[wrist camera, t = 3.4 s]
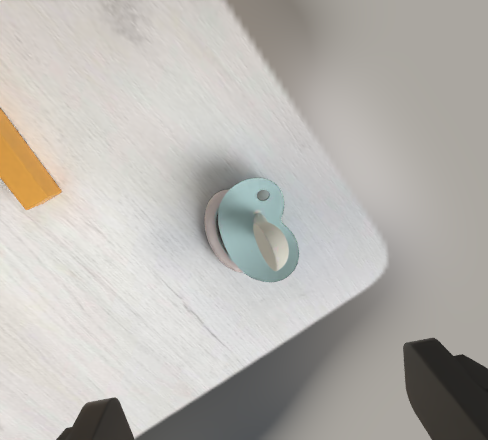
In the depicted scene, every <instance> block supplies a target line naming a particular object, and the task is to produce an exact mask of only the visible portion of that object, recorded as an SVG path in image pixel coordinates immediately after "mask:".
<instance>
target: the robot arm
mask: <svg viewBox="0 0 488 440" xmlns="http://www.w3.org/2000/svg"><path fill="white" fill-rule="evenodd" d="M403 351H404V367H405V382H406V391H407V394H408V398H409V401H410V403H411V405H412V408H413V410H414V412H415V413H416V415H417V416H418V418H419V420H420V421H421V423H422V424H423V426H424V428H425V429H426V431H427V432H428V434H429V435H430V437H431V439H432V440H488V369H487V368H486V367H484V366H482V365H480V364H479V363H477V362H475V361H473V360H472V359H470V358H468V357H466V356H465V355H463V354H462V355H457V356H453V355H452V354H451V353H449V351H448V350H447V349H446V348H445V347H444V346H443V345H442V344H441V343H440V342H439V341H438V340H437V339H435V338H429V339H424V340H419V341H414V342H409V343H405V344H404V347H403ZM56 440H134V437H133V434H132V432H131V429H130V427H129V424H128V422H127V419H126V417H125V414H124V412H123V409H122V407H121V404H120V402H119V400H118V399H117V398H109V399H104V400H98V401H93V402H88V403H86V404H85V405H84V406H83V408H82V410H81V412H80V413H79V415H78V417H77V419H76V421H75V423H74V425H73V427H70V428H66V429H65V430H64V431H63V433H62V434H61V435H60V436H59V437H58V438H57V439H56Z"/></svg>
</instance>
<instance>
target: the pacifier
mask: <svg viewBox="0 0 488 440" xmlns="http://www.w3.org/2000/svg"><path fill="white" fill-rule="evenodd" d="M261 190H267V191H268V192H269V197H268V198H267V199H266V200H259V199H258V198H257V193H258V192H259V191H261ZM283 210H284V198H283V194H282V192H281V190H280V188H279V187H278V186H277V185H276V184H275V183H273V182H272V181H270V180H268V179H265V178H250V179H246V180H243V181H241V182H239V183H238V184H236V185H235V186H233V187H232V188H231V189H229V190H221V191H220V192H218V193H216V194H214V196H213V197H212V198H211V199H210V201H209V202H208V205H207V207H206V210H205V218H204V223H205V232H206V235H207V239H208V242H209V244H210V246H211V248H212V250H213V252H214V253H215V255H216V256H217V257H218V259H219V260H220V261H221V262H222V263H223V264H225V265H226V266H227V267H228V268H230V269H232V270H234V271H237V272H242V273H245V274H246V275H248V276H249V277H251V278H253V279H256V280H260V281H263V282H277V281H280V280H283V279H285V278H287V277H288V276H289V275H290V274H291V273H292V272H293V271H294V269H295V267H296V265H297V263H298V258H299V249H298V244H297V241H296V239H295V237H294V235H293V233H292V232H291V231H290V230H289V229H288V228H287V227H286V226H285V225H283V223H282V221H281V217H282V214H283ZM217 214H218V223H219V230H220V234H221V237H222V240H223V243H224V245H225V247H226V248H225V247H224V245H223V244H222V242H221V240H220V238H219V234H218V231H217V223H216V220H217ZM226 249H227V250H226Z"/></svg>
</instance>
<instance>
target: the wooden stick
mask: <svg viewBox="0 0 488 440" xmlns="http://www.w3.org/2000/svg"><path fill="white" fill-rule="evenodd" d="M0 178H1V179H2V180H3V182H4V183H5V184H6V185H7V187H8V188H9V189H10V190H11V192H12V193H13V194H14V196H15V197H16V198H17V199H18V201H19V202H20V203H21V204H22V206H23V207H24V208H25V209H26V210H29V209H31V208H33V207H36V206H38V205H41V204H43V203H45V202H46V201H48V200H50V199H51V198H53V197H55V196H56V195H58V194H60V193H61V192H62V191H61V190H60V188H59V187H58V186H57V184H56V183H55V182H54V180H53V179H52V177H51V176H50V175H49V173H48V172H47V171H46V169H45V168H44V167H43V165H42V164H41V163H40V161H39V160H38V159H37V157H36V156H35V154H34V153H33V152H32V150H31V149H30V148H29V146H28V145H27V144H26V142H25V141H24V140H23V138H22V137H21V136H20V134H19V133H18V131H17V130H16V129H15V127H14V126H13V125H12V123H11V122H10V121H9V119H8V118H7V117H6V115H5V114H4V112H3V111H2V110H1V108H0Z"/></svg>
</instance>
